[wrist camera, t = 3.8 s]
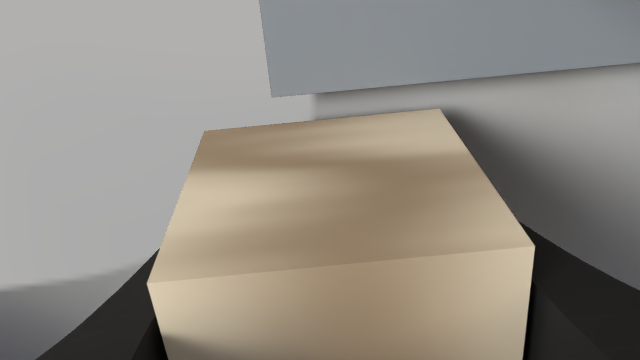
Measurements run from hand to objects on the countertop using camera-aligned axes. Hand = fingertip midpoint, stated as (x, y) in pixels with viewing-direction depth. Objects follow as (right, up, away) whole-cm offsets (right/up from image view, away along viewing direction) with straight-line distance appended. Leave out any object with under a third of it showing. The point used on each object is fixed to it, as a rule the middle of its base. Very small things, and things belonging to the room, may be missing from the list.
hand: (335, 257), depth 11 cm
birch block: (0, +1, +1) cm, 1 cm away
